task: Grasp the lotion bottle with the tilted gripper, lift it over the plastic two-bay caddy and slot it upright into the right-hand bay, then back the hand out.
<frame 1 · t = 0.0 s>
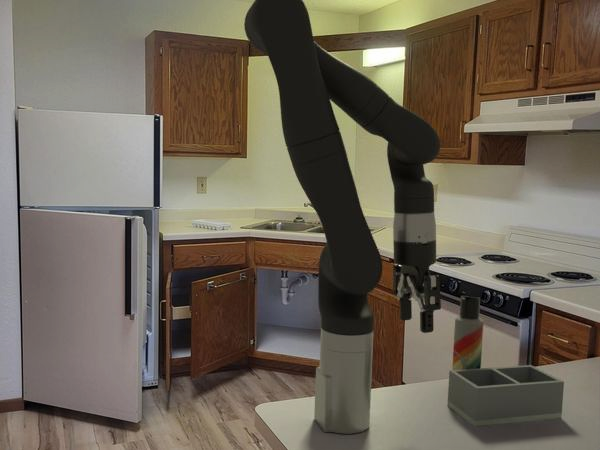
hand: (415, 325, 107), 17 cm above the counter, tool pointing down, fingers open, 8 cm apart
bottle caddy: (503, 411, 112), on the counter
lotion bottle: (465, 390, 124), on the counter
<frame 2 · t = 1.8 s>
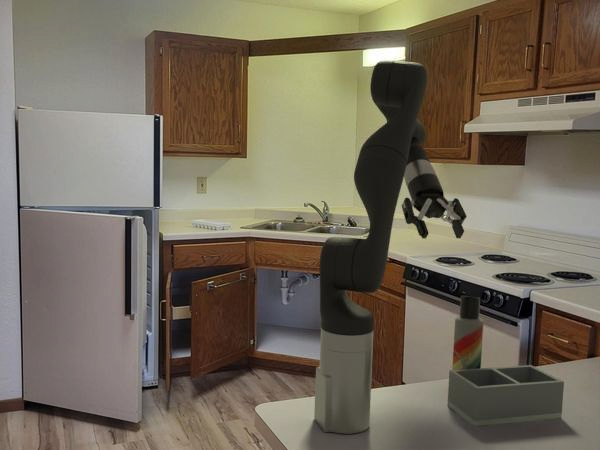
hand: (443, 236, 131), 31 cm above the counter, tool tilted 45°, fingers open, 8 cm apart
nothing on the counter moved.
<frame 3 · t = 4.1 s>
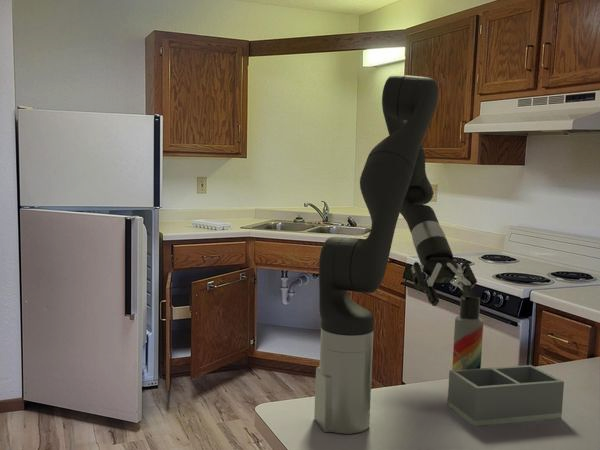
hand: (453, 303, 128), 17 cm above the counter, tool tilted 45°, fingers open, 8 cm apart
nothing on the counter moved.
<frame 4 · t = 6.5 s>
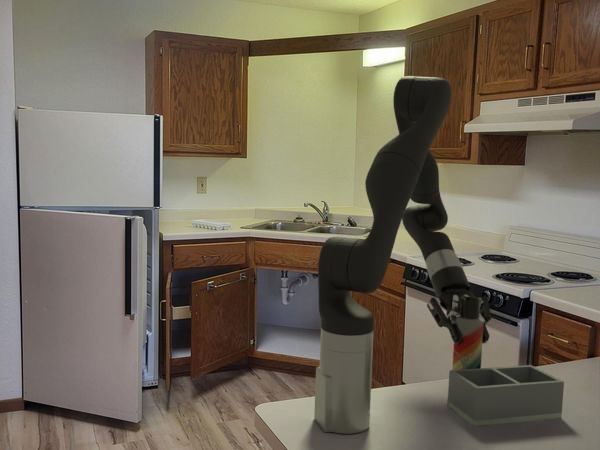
hand: (472, 341, 121), 11 cm above the counter, tool tilted 45°, fingers closed on lotion bottle, 5 cm apart
lotion bottle: (465, 390, 124), on the counter, touching gripper
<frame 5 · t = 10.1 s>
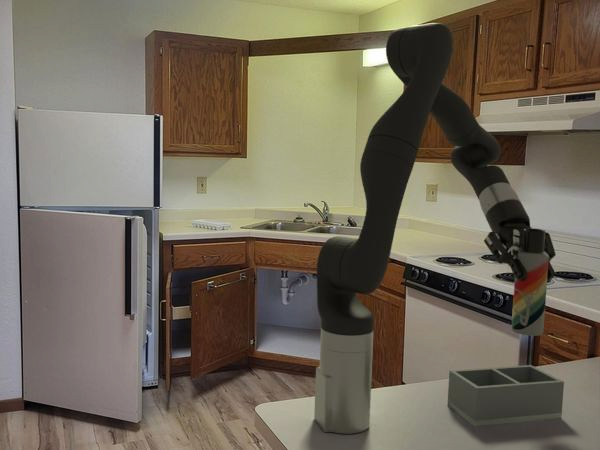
hand: (537, 278, 110), 26 cm above the counter, tool tilted 45°, fingers closed on lotion bottle, 5 cm apart
lotion bottle: (527, 333, 112), point 15 cm above the counter, touching gripper
when the fingers open (13 cm above the counter, at t = 13.7 s): lotion bottle drops 1 cm, resting on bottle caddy.
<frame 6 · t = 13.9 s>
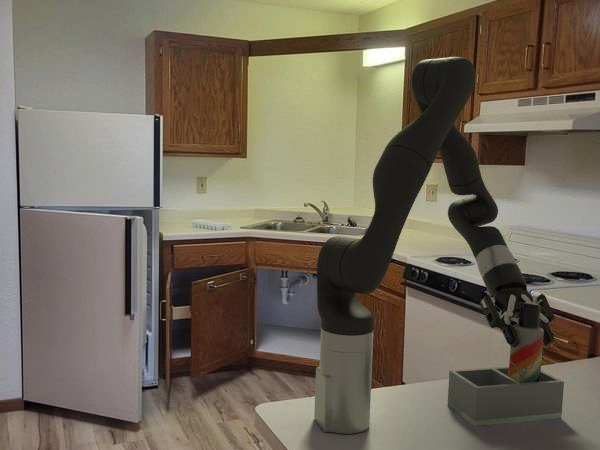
hand: (532, 344, 111), 13 cm above the counter, tool tilted 45°, fingers open, 7 cm apart
lotion bottle: (521, 405, 114), point 1 cm above the counter, touching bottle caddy
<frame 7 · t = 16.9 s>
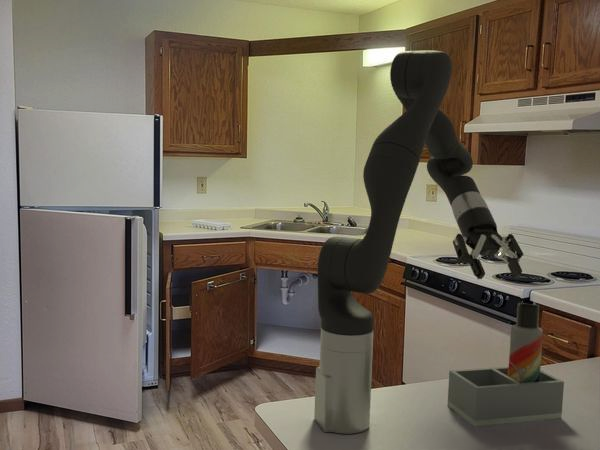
hand: (500, 276, 121), 24 cm above the counter, tool tilted 45°, fingers open, 8 cm apart
nothing on the counter moved.
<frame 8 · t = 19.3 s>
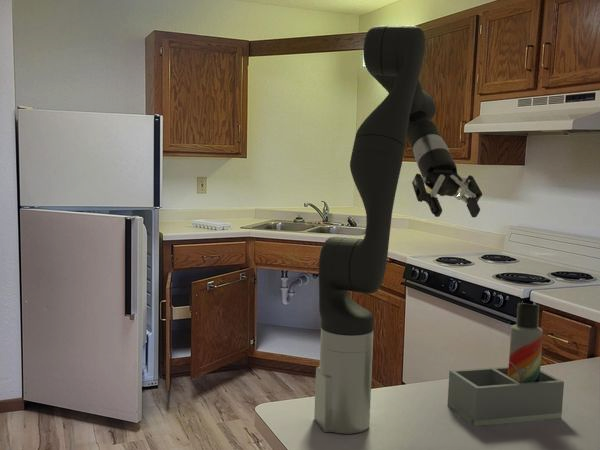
hand: (457, 214, 121), 37 cm above the counter, tool tilted 45°, fingers open, 8 cm apart
nothing on the counter moved.
at the end: lotion bottle 0.4 cm from the target spot on the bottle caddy, point 0.8 cm above the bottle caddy's base; lotion bottle tilted 0°; the gripper is holding nothing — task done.
